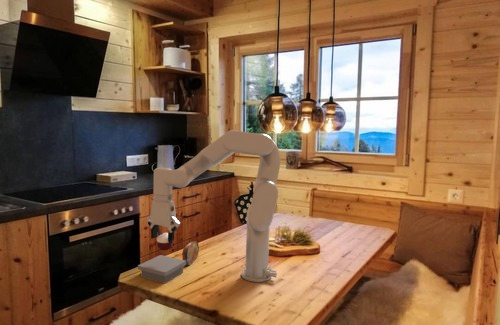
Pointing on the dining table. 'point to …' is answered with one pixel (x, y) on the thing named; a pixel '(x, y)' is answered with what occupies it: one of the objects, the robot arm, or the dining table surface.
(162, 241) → the cocoa
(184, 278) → the dining table surface
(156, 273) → the stand
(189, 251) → the tin
